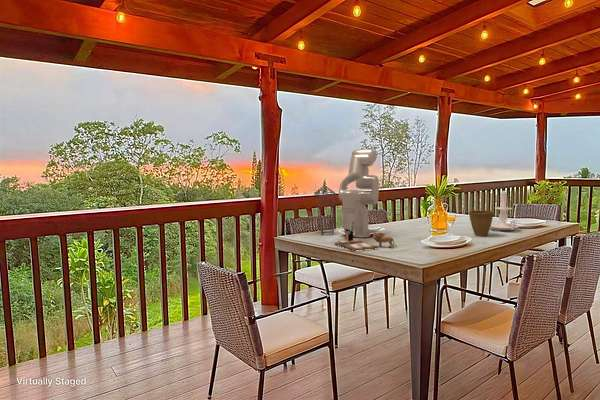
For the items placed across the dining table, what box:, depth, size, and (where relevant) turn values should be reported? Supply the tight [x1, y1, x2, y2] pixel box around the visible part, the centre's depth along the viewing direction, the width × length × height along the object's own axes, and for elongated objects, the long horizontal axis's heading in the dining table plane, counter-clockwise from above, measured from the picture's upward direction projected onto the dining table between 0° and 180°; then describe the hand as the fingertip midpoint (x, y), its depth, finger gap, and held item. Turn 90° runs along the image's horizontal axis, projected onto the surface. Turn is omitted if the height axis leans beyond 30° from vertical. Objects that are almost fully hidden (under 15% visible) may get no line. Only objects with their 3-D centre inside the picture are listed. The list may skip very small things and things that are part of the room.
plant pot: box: [468, 210, 494, 237], centre depth 271 cm, size 15×15×16 cm
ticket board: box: [334, 240, 379, 252], centre depth 249 cm, size 16×24×2 cm, turn 23°
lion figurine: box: [372, 231, 398, 249], centre depth 245 cm, size 15×5×9 cm, turn 67°
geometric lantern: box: [313, 185, 337, 236], centre depth 293 cm, size 16×16×35 cm
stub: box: [338, 231, 361, 243], centre depth 255 cm, size 12×5×7 cm, turn 113°
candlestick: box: [490, 190, 520, 232], centre depth 285 cm, size 21×25×28 cm
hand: (349, 239), depth 256 cm, fingers closed on stub, 3 cm apart
